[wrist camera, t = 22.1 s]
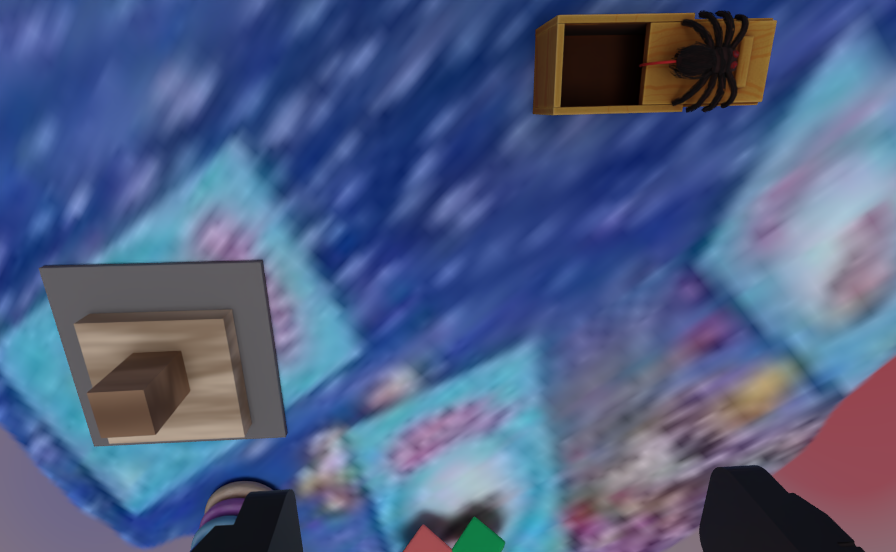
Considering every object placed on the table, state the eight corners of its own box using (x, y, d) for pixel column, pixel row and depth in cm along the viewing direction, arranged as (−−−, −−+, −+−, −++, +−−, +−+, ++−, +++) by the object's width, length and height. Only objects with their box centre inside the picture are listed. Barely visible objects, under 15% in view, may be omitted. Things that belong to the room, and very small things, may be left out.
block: (132, 352, 40) (86, 393, 34) (181, 350, 40) (143, 390, 35) (143, 393, 41) (100, 438, 36) (190, 390, 42) (155, 435, 36)
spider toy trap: (710, 111, 39) (795, 111, 31) (532, 116, 39) (567, 118, 30) (723, 24, 37) (818, -2, 28) (535, 27, 36) (574, 1, 28)
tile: (73, 323, 39) (109, 443, 43) (223, 318, 40) (244, 437, 44) (89, 313, 41) (122, 429, 45) (232, 309, 42) (251, 423, 46)
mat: (44, 265, 40) (38, 268, 39) (262, 260, 41) (260, 262, 40) (98, 442, 46) (94, 446, 45) (287, 433, 47) (285, 437, 46)
